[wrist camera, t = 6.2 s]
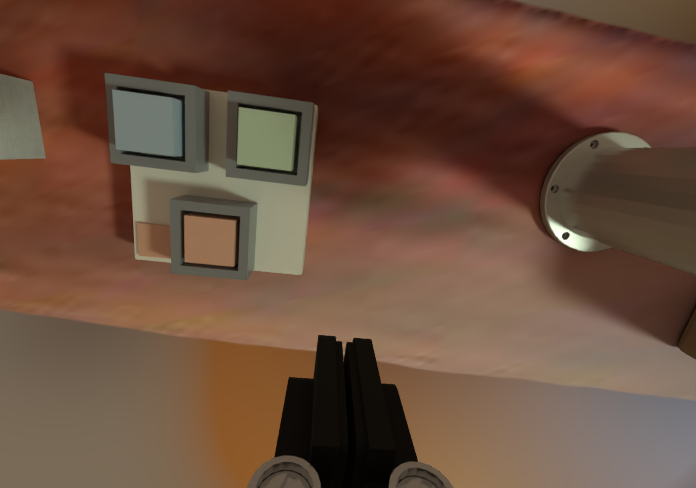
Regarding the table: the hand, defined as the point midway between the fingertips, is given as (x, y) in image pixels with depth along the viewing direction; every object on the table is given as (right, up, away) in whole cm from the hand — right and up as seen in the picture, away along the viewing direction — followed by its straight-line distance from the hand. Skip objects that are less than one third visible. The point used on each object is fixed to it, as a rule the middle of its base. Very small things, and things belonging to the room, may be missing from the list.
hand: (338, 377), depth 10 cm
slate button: (-15, +14, +16) cm, 26 cm away
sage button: (-6, +13, +17) cm, 22 cm away
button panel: (-11, +10, +23) cm, 27 cm away
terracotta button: (-12, +5, +20) cm, 24 cm away
